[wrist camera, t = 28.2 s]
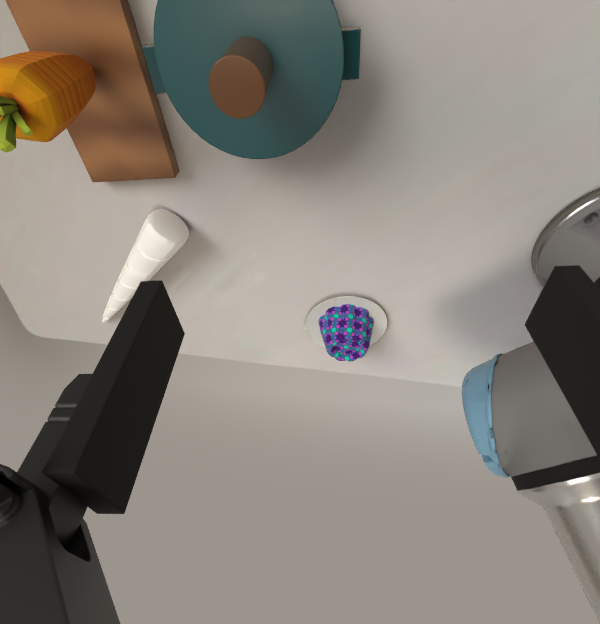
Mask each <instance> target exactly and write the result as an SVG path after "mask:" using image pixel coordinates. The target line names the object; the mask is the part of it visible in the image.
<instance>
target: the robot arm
mask: <svg viewBox="0 0 600 624" xmlns="http://www.w3.org/2000/svg"><path fill="white" fill-rule="evenodd" d="M532 267H533V270H534V273H535V274H536V276H537V277H538V279H539V280H540V282H541V283H542V285H543V286H544V288H543V290H542V292H541V294H540V296H539V298H538V300H537V302H536V304H535V306H534V307H533V309H532V311H531V313H530V315H529V317H528V319H527V321H526V323H525V326H526V328H527V330H528V331H529V333H530V335H531V337H532V339H533V340H534V342H532V343H529V344H527V345H524V346H522V347H520V348H517V349H515V350H512V351H510V352H508V353H505V354H498V355H496V356H495V357H494V358H493V359H492V360H489V361H487V362H485V363H483V364H481V365H479V366H477V367H475V368H473V369H471V370H470V371H469V372H468V373H467V374H466V376H465V378H464V381H463V385H462V401H463V407H464V413H465V417H466V420H467V424H468V427H469V430H470V433H471V436H472V439H473V441H474V444H475V446H476V448H477V450H478V452H479V454H481V455H482V457H483V461H484V463H485V464H486V466H487V467H488V469H489V470H490V471H491V472H493V473H494V474H495V475H498V476H503V477H509V476H511V478H512V480H513V482H514V484H515V486H516V488H517V491H518V493H519V494H520V495H522V496H524V497H525V498H527V499H529V500H531V501H533V502H534V503H536V504H538V505H539V506H541V507H542V508H543V509H544V510H545V511H546V514H547V516H548V518H549V520H550V522H551V524H552V526H553V528H554V530H555V533H556V534H557V537H558V539H559V541H560V543H561V545H562V547H563V549H564V551H565V553H566V555H567V557H568V559H569V561H570V563H571V565H572V567H573V569H574V571H575V573H576V576H577V578H578V580H579V582H580V584H581V586H582V588H583V590H584V592H585V594H586V596H587V598H588V600H589V602H590V604H591V606H592V608H593V611H594V612H595V614H596V617H597V619H598V621H599V623H600V188H599V189H597V190H595V191H592V192H590V193H588V194H587V195H585V196H583V197H581V198H580V199H578V200H576V201H575V202H573V203H572V204H570V205H569V206H568V207H566V208H565V209H564V210H562V211H561V212H560V213H559V214H558V215H557V216H556V217H555V218H554V219H553V220H552V221H551V222H550V223H549V224H548V225H547V226H546V228H545V229H544V230H543V232H542V233H541V235H540V236H539V238H538V240H537V242H536V244H535V246H534V249H533V253H532ZM184 334H185V333H184V331H183V329H182V326H181V324H180V322H179V319H178V317H177V315H176V312H175V310H174V308H173V305H172V303H171V301H170V298H169V296H168V294H167V291H166V289H165V286H164V284H163V282H162V281H141V282H140V284H139V286H138V288H137V290H136V292H135V294H134V295H133V297H132V299H131V301H130V303H129V305H128V307H127V309H126V311H125V313H124V315H123V317H122V319H121V321H120V322H119V324H118V326H117V328H116V330H115V332H114V334H113V336H112V338H111V340H110V342H109V344H108V346H107V348H106V349H105V351H104V353H103V355H102V357H101V359H100V361H99V363H98V365H97V367H96V369H95V371H94V373H93V374H79V375H78V376H77V377H76V378H75V379H74V380H73V381H72V382H71V383H70V384H69V385H68V386H67V387H66V388H65V389H64V391H63V392H62V394H61V396H60V398H59V400H58V401H57V403H56V407H55V408H54V409H53V410H52V412H51V414H50V416H49V417H48V422H45V424H44V426H43V428H42V429H41V431H40V433H39V435H38V437H37V438H36V440H35V442H34V444H33V446H32V447H31V449H30V451H29V453H28V454H27V456H26V458H25V460H24V461H23V463H22V465H21V467H20V468H19V470H18V472H15V471H14V470H12V469H11V468H9V467H7V466H4V465H1V464H0V624H120V622H119V619H118V616H117V613H116V610H115V607H114V604H113V601H112V598H111V595H110V592H109V589H108V586H107V583H106V580H105V577H104V574H103V571H102V568H101V565H100V562H99V559H98V556H97V553H96V550H95V547H94V544H93V542H92V538H91V535H90V533H89V529H88V527H87V523H86V522H85V521H84V519H83V516H84V514H85V511H86V509H87V506H88V507H89V508H90V509H92V510H93V511H95V512H96V513H97V514H100V513H101V514H124V513H125V510H126V507H127V504H128V501H129V498H130V495H131V492H132V489H133V486H134V483H135V480H136V477H137V474H138V471H139V468H140V465H141V462H142V459H143V456H144V453H145V450H146V447H147V444H148V441H149V438H150V435H151V432H152V429H153V426H154V423H155V420H156V417H157V414H158V411H159V408H160V406H161V403H162V399H163V397H164V394H165V391H166V388H167V384H168V382H169V378H170V376H171V373H172V370H173V367H174V364H175V361H176V358H177V355H178V352H179V349H180V346H181V343H182V340H183V337H184Z"/></svg>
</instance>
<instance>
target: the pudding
mask: <svg viewBox="0 0 600 624" xmlns="http://www.w3.org/2000/svg"><path fill="white" fill-rule="evenodd" d="M386 328H387V317H386V315H385V313H384V311H383V310H382V308H380V307H379V306H378V305H377V304H375V303H374V302H372V301H370V300H367V299H365V298H361V297H354V296H342V297H336V298H332V299H329V300H327V301H324V302H322V303H320V304H319V305H317V306H316V307H315V308H314V309H313V310H312V311H311V312H310V313H309V315H308V317H307V319H306V323H305V330H306V333H307V335H308V337H309V338H310V340H311V341H312V342H313V343H315V344H316V345H318V346H319V347H321V348H323V349H326V350H327V352H328V354H329V355H330V356H332V357H335V358H336V359H337V360H339V361H345V360H347V361H354V360H356V359H357V358H361V357H363V356H364V355H365V354H366V352H367V350H368V348H369V346H371V345H373V344H375V343H376V342H377V341H378V340H379V339H380V338H381V337H382V336H383V335H384V333H385V331H386Z"/></svg>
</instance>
